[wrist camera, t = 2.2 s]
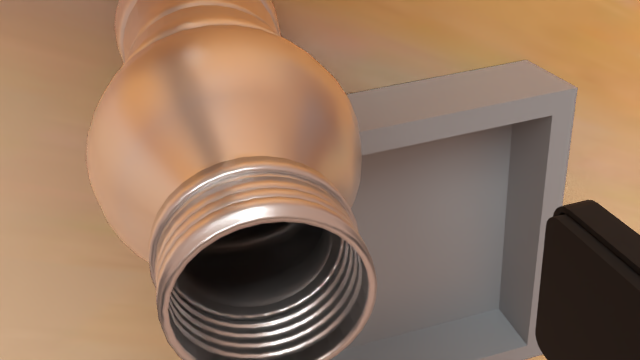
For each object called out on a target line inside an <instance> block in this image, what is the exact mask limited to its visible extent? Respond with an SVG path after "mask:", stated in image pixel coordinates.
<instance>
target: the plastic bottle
mask: <svg viewBox="0 0 640 360" xmlns="http://www.w3.org/2000/svg"><path fill="white" fill-rule="evenodd" d="M115 33H116V41H117V45H118V49H119V52H120V55H121V58H122V60H123V63H124V64H123V65H122V67H121V68H120V69H119V71H118V72H117V73H116V74H115V75H114V77H113V78H112V80H111V82H110V83H109V85H108V87H107V88H106V90H105V92H104V93H103V95H102V97H101V99H100V101H99V103H98V105H97V107H96V109H95V112H94V115H93V118H92V122H91V125H90V128H89V132H88V135H87V150H86V163H87V169H88V174H89V180H90V185H91V187H92V189H93V192H94V194H95V196H96V198H97V201H98V203H99V205H100V207H101V209H102V212H103V214H104V216H105V218H106V220H107V222H108V224H109V225H110V226H111V228H112V229H113V230H114V232H115V233H116V234H117V236H118V237H119V238H120V240H121V241H122V242H123V243H124V244H125V245H126V246H128V247H129V248H130V249H131V250H132V251H133V252H134V253H135V254H137V255H138V256H139V257H140V258H142V259H144V260H146V261H147V262H149V265H150V272H151V278H152V280H153V283H154V285H155V288H156V299H157V309H158V317H159V321H160V323H161V326H162V329H163V332H164V334H165V336H166V339H167V341H168V343H169V344H170V346H171V347H172V348H173V349H174V351H175V352H176V353H177V355H178V356H179V357H181V358H182V359H183V360H330V359H332V358H333V357H335V356H336V355H338V354H339V353H340V352H341V351H342V350H343V349H345V348H346V347H347V346H348V345H349V344H351V342H352V341H353V340H354V339H355V338H356V337H357V335H358V334H359V333H360V332H361V331H362V329H363V328H364V326H365V324H366V322H367V321H368V319H369V317H370V315H371V313H372V310H373V307H374V304H375V300H376V292H377V279H376V273H375V268H374V265H373V260H372V258H371V256H370V253H369V251H368V249H367V246H366V245H365V243H364V241H363V240H362V238H361V236H360V234H359V232H358V226H357V222H356V220H355V217H354V215H353V213H352V210H351V207H352V205H353V203H354V201H355V198H356V194H357V191H358V187H359V184H360V179H361V164H362V154H361V140H360V133H359V127H358V121H357V118H356V115H355V113H354V110H353V108H352V105H351V103H350V100H349V98H348V97H347V95H346V94H345V92H344V91H343V89H342V88H341V86H340V85H339V83H338V82H337V80H336V79H335V78H334V77H333V76H332V75H331V74H330V73H329V72H328V71H327V70H326V69H325V68H324V67H323V66H322V65H321V64H320V63H319V62H317V61H316V60H315V59H314V58H313V57H312V56H311V55H310V54H309V53H307V52H306V51H304V50H303V49H301V48H299V47H298V46H296V45H295V44H293V43H292V42H290V41H288V40H287V39H284V38H283V37H281V36H280V29H279V24H278V20H277V15H276V10H275V8H274V6H273V3H272V1H271V0H119V3H118V6H117V10H116V16H115Z"/></svg>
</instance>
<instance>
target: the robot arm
mask: <svg viewBox="0 0 640 360" xmlns="http://www.w3.org/2000/svg"><path fill="white" fill-rule="evenodd" d="M535 336H536V341H537V344H538V346H539V348H540V350H541V352H542V353H543V355H544V356H545V357H546V358H547V360H640V235H639V234H637V233H636V232H635V231H634V230H632V229H631V228H630V227H628V226H627V225H626V224H624V223H623V222H622V221H620V220H619V219H618V218H616V217H615V216H614V215H613V214H611V213H610V212H609V211H607V210H606V209H605V208H603V207H602V206H601V205H599V204H598V203H596V202H595V201H593V200H585V201H581V202H577V203H573V204H568V205H564V206H560V207H558V208H556V210H555V211H554V214H553V217H551V218H549V219H548V220H547V223H546V230H545V239H544V249H543V259H542V269H541V279H540V289H539V299H538V309H537V319H536V328H535Z"/></svg>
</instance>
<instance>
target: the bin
mask: <svg viewBox="0 0 640 360" xmlns="http://www.w3.org/2000/svg"><path fill="white" fill-rule="evenodd" d="M346 95H347V97H348V98H349V100H350V103H351V105H352V108H353V110H354V113H355V115H356V118H357V121H358V127H359V133H360V140H361V154H362V164H361V179H360V184H359V187H358V191H357V194H356V198H355V201H354V203H353V205H352V207H351V210H352V213H353V215H354V217H355V220H356V222H357V226H358V232H359V234H360V236H361V238H362V240H363V241H364V243H365V245H366V246H367V249H368V251H369V253H370V256H371V258H372V260H373V265H374V268H375V273H376V279H377V292H376V300H375V304H374V307H373V310H372V313H371V315H370V317H369V319H368V321H367V322H366V324H365V326H364V328H363V329H362V331H361V332H360V333H359V334H358V335H357V337H356V338H355V339H354V340H353V341H352V342H351V344H349V345H348V346H347V347H346V348H345V349H343V350H342V351H341V352H340V353H339V354H338V355H336V356H335V357H333V358H332V359H330V360H525V359H528V358H532V357H536V356H539V355H543V353H542V352H541V350H540V348H539V346H538V344H537V341H536V336H535V328H536V319H537V309H538V299H539V289H540V279H541V269H542V259H543V249H544V239H545V230H546V223H547V220H548V219H549V218H551V217H553V214H554V211H555V210H556V208H558V207H560V206H562V204H563V196H564V188H565V181H566V173H567V165H568V157H569V150H570V142H571V134H572V127H573V119H574V111H575V103H576V96H577V87H575V86H573V85H572V84H570V83H568V82H566V81H564V80H562V79H561V78H559V77H557V76H555V75H553V74H551V73H550V72H548V71H546V70H544V69H542V68H540V67H539V66H537V65H535V64H533V63H531V62H530V61H528V60H523V61H518V62H513V63H508V64H502V65H497V66H492V67H487V68H482V69H476V70H471V71H466V72H461V73H455V74H450V75H445V76H440V77H435V78H429V79H424V80H419V81H414V82H408V83H403V84H398V85H393V86H388V87H382V88H377V89H372V90H367V91H362V92H356V93H351V94H346Z"/></svg>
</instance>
